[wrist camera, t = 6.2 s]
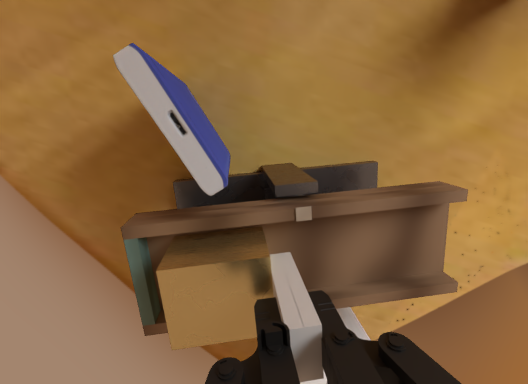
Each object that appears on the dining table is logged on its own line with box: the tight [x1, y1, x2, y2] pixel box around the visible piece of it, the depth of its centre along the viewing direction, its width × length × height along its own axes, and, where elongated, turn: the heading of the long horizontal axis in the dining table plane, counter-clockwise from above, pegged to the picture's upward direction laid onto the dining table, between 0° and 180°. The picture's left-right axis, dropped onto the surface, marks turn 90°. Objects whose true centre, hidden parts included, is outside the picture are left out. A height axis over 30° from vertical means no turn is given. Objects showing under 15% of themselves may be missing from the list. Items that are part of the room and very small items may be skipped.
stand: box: [173, 161, 378, 209], centre depth 25 cm, size 20×10×9 cm, turn 95°
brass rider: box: [156, 227, 274, 350], centre depth 17 cm, size 6×5×4 cm
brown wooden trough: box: [121, 181, 468, 336], centre depth 21 cm, size 22×8×6 cm, turn 95°
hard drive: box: [113, 43, 230, 196], centre depth 20 cm, size 2×8×12 cm, turn 31°
